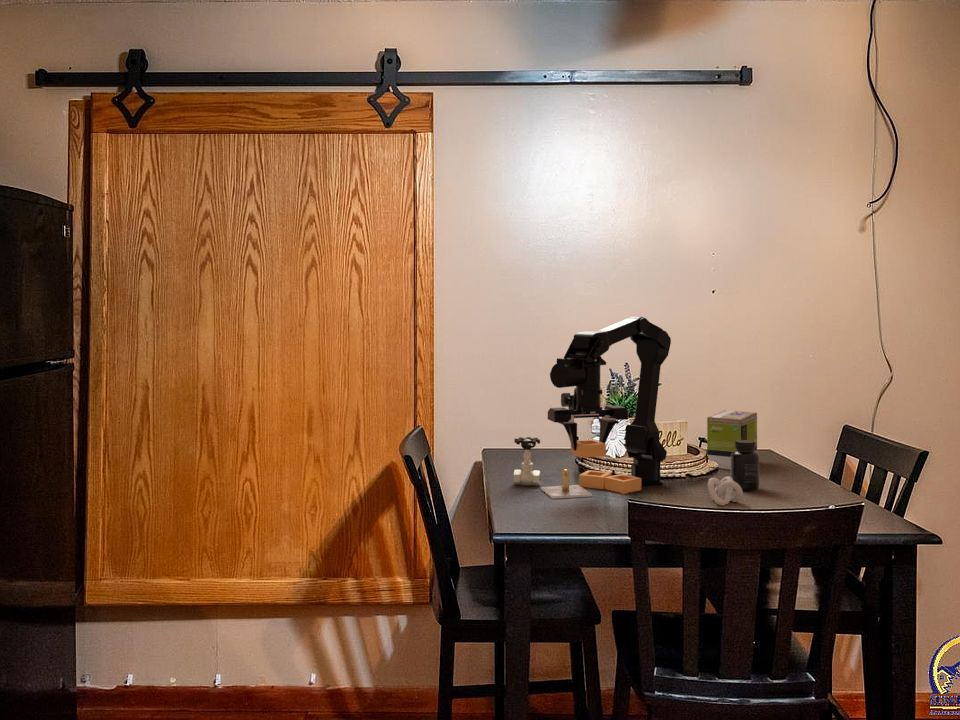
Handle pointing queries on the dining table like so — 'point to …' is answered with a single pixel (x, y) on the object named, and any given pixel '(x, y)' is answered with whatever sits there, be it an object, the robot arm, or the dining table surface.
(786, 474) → the dining table surface
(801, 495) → the dining table surface
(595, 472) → the chain link
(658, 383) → the robot arm
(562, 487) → the plate with brass peg
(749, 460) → the supplement bottle
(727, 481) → the knot
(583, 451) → the end link
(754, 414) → the tea box
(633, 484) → the chain link
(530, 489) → the dining table surface
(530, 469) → the valve
